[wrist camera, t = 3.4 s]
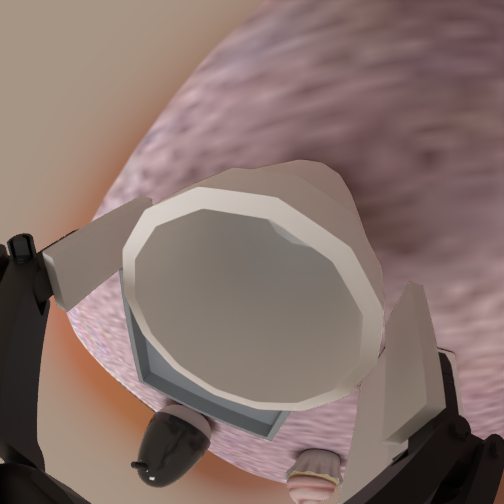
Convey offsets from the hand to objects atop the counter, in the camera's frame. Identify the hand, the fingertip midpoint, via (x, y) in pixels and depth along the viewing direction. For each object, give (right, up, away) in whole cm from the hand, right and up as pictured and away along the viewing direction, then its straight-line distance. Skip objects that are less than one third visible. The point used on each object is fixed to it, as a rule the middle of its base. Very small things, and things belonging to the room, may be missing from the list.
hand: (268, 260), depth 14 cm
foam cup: (+3, +4, +7) cm, 8 cm away
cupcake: (+10, -31, +23) cm, 40 cm away
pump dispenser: (-11, -26, +29) cm, 40 cm away
